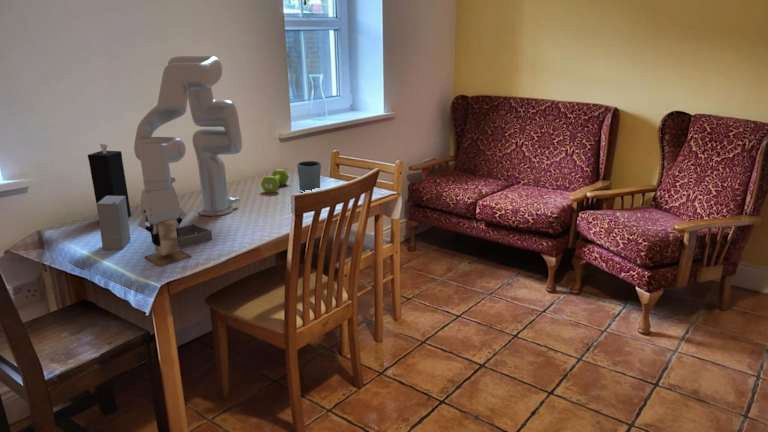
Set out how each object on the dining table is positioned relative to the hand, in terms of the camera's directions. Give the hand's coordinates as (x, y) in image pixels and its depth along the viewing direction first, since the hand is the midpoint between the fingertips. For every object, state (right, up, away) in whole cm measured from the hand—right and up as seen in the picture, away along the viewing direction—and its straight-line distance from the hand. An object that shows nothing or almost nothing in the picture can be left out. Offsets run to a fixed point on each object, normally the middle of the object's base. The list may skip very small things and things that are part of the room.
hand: (166, 242), depth 172 cm
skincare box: (-20, -2, +12) cm, 23 cm away
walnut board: (0, -5, +1) cm, 5 cm away
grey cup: (+34, +19, +73) cm, 83 cm away
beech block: (0, -3, +1) cm, 3 cm away
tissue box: (-33, +7, +39) cm, 52 cm away
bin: (+1, 0, +16) cm, 16 cm away
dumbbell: (+19, +20, +77) cm, 82 cm away
